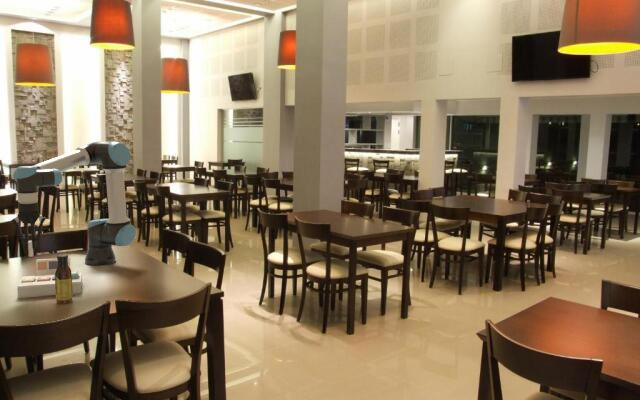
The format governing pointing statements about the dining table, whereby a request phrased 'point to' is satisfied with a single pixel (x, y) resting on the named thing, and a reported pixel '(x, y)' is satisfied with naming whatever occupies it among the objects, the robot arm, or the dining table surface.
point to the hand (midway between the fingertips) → (31, 255)
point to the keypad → (44, 286)
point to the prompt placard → (47, 266)
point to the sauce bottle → (63, 280)
